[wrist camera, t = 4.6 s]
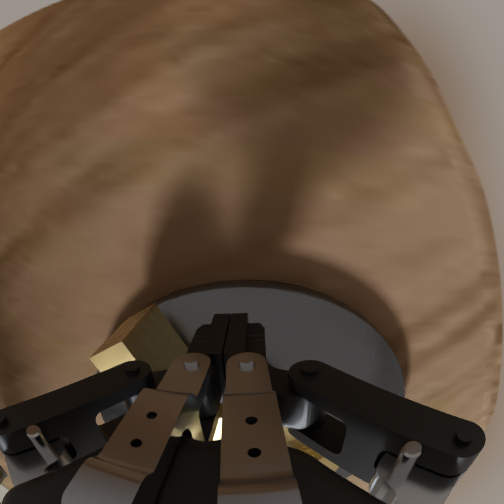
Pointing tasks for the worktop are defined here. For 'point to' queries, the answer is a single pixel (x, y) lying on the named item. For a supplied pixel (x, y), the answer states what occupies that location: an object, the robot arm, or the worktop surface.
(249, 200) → the worktop surface
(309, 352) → the flange
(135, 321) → the tan curved piece
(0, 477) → the canister
